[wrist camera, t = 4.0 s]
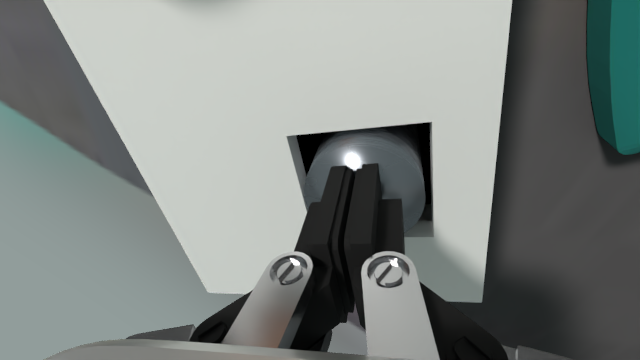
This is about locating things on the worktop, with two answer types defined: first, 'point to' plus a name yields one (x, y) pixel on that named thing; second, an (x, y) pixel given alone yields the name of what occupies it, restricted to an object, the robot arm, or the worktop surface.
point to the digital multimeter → (615, 71)
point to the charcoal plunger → (368, 148)
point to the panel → (297, 115)
